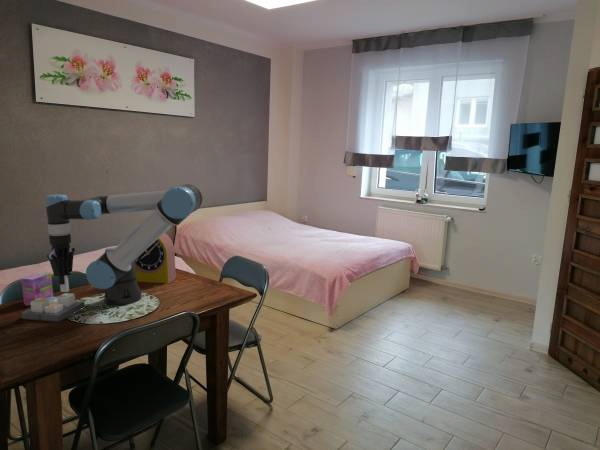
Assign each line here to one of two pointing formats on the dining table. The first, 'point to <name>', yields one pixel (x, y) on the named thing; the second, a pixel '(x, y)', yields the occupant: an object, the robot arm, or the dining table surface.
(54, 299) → the slate key
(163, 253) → the alarm clock
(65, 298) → the sage key
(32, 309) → the mustard key
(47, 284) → the box
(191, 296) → the dining table surface
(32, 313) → the keypad board
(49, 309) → the terracotta key
